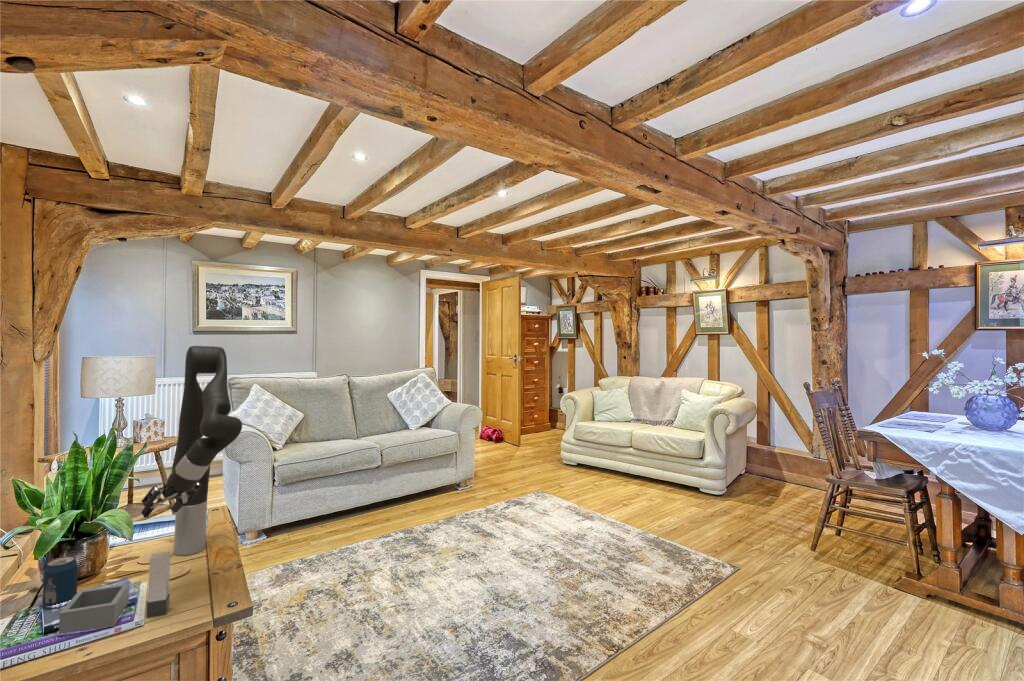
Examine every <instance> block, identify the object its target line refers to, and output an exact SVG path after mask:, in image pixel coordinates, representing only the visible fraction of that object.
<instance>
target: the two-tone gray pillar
mask: <svg viewBox="0 0 1024 681" xmlns="http://www.w3.org/2000/svg"><path fill="white" fill-rule="evenodd" d="M171 553H172V552H171V551H166V552H165V551H164V552H158V553H152V555H151V556H150V558H149V566H148V567H149V570H148V589H147V590H148V595H147V602H146V614H145V616H146V619H148V618H153V617H159V616H167V614H168V611H169V609H170V603H171V602H170V600H171V598H170V597H171V594H170V577H171V575H170V570H171Z"/></svg>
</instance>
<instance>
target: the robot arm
mask: <svg viewBox="0 0 1024 681" xmlns="http://www.w3.org/2000/svg"><path fill="white" fill-rule="evenodd" d="M184 366H185V368H184V382H183V384H184V386H183V393H182V394H183V395H182V402H181V406H180V413H179V421H178V433H177V441H176V443H177V444H176V447H175V452H174V457H173V460H172V466H171V467H172V468H171V472H170V474H169V476H168V478H167V482H166V484H164V485H163V486H161V487H158V486H157V485H153V486H151V488H149V489H150V490H149V491H148V492H147V493H146V494H145V496H144V497H143V498H142V499H141V500H140V501H141V503H142V504H143V506H144V508H143V509H142V510H141V515H142V516H143V518H146V519H147V518H148V517H149V516H150V515H151V514H152V512H153V511H154V509H155V508H156V507H158V506H159V505H162V504H164V503H166V502H167V501H171V500H175V502H174V503H173V505H172V506H171V510H172V512H173V513H175V515H174V516H175V517H174V538H173V539H174V541H173V554H174V555H175V556H189V555H194V554H197V553H199V552H202V551H203V550H205V549H206V543H207V542H206V540H207V539H206V537H207V518H208V517H207V512H208V493H209V484H210V483H209V481H210V471H211V464H212V462H213V460H214V459H215V458H216V456H217V455H218V454H219V453H221V452H222V451H223V450H224V449H225V448H227V447H228V446H229V445H230V444H232V443H233V442H234V441H235V440H236V439H237V438H238V437H239V435H240V434H241V432H242V430H243V423H242V420H241V419H240V418H238V417H236V416H230V415H229V413H230V412H231V410H232V406H231V400H230V395H229V390H228V361H227V354H226V351H225V349H224V348H223V347H221V346H210V345H209V346H207V345H191V346H189V348H188V349H187V351H186V355H185V363H184ZM201 374H215V375H214V376H213V378H211V380H210V381H209V382H208V383H207V384H206V386H205V387H204V388H203V389H202V388H201V385H200V384H199V382H198V379H197V377H198V376H197V375H201ZM161 496H163V498H162V497H161Z"/></svg>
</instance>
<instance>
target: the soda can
mask: <svg viewBox="0 0 1024 681" xmlns="http://www.w3.org/2000/svg"><path fill="white" fill-rule="evenodd" d="M46 563H47V564H46V566H45V567H44V568H43V571H44V575H43V574H42V600H41V602H42V605H43V606H44V607H45V606H52V605H56V604H60V603H63V602H66V601H69V600H71V599H72V598H73V597H74V596H75V595H76V594H77V592H78V572H79V571H78V570H79V562H78V561H77V559H76V556H74V555H65V556H59V558H56V559H53V558H52V559H51V560H49V561H48V562H46Z"/></svg>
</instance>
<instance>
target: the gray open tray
mask: <svg viewBox="0 0 1024 681" xmlns="http://www.w3.org/2000/svg"><path fill="white" fill-rule="evenodd" d="M129 602H130V583H122V584H117V585H109V586H102V587H101V586H100V587H96V588H90V589H83V590H77V594H76V595H75V596H74V597H73V598H72V599H71V601H70V602H69V603H68V604H67V605H65V606H64V608H63V609H62V610H61V611H60V612H59V619H58V620H59V621H58V635H59V634H61V633H67V632H73V631H74V632H76V631H86V630H91V629H97V628H102V627H103V628H104V627H110V626H114V625H115V623H116V621H117V619H118V618H119V616H120V615H121V613H122V612H123V610H124V609H125V607H126V606H127V604H128V603H129ZM129 604H130V603H129ZM129 604H128V605H129ZM127 607H128V606H127ZM125 610H126V609H125ZM123 613H124V612H123ZM115 626H116V625H115Z"/></svg>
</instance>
